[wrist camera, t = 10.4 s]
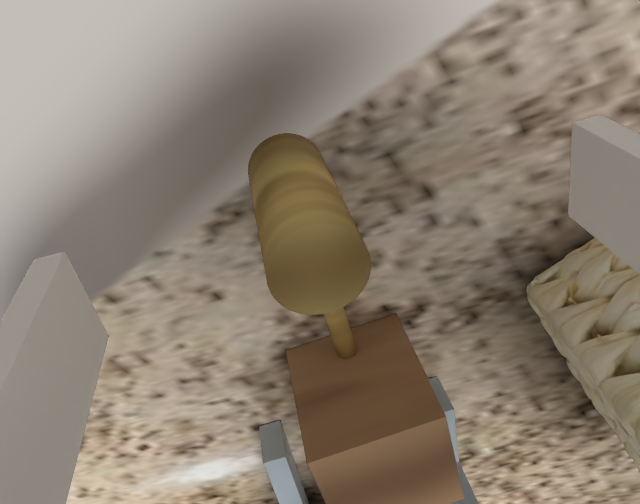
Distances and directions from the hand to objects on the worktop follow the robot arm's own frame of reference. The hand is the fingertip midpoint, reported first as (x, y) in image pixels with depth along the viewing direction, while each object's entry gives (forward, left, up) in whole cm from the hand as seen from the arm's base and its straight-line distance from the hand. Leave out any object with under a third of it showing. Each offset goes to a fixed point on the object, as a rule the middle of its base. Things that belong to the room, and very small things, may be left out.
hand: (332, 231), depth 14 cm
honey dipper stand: (-9, 0, -9) cm, 13 cm away
